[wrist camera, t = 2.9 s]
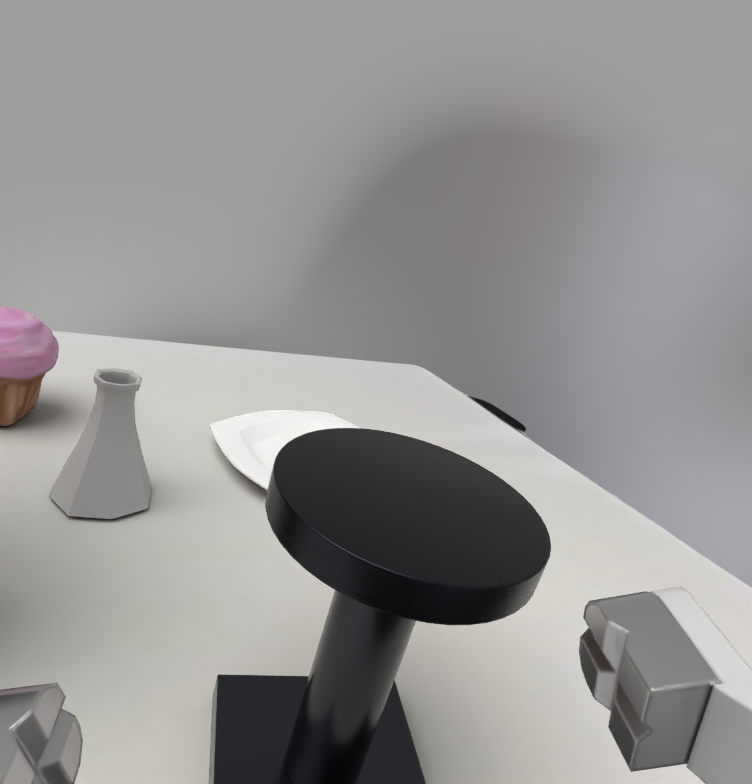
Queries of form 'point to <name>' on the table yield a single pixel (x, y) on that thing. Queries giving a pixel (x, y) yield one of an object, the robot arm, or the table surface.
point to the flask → (106, 455)
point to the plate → (266, 437)
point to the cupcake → (22, 361)
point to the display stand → (372, 600)
